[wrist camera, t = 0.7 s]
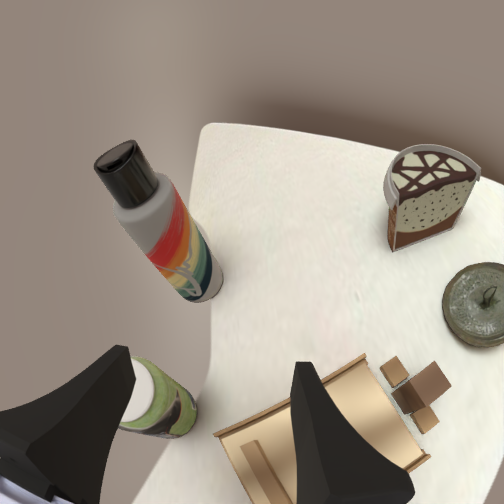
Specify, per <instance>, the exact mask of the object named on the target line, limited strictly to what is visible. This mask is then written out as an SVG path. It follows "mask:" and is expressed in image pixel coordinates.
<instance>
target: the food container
mask: <svg viewBox="0 0 504 504" xmlns="http://www.w3.org/2000/svg"><path fill="white" fill-rule="evenodd" d="M480 170H481V168H480V167H479V166H478V165H477V164H476V163H475V162H473V161H472V160H471V159H470V158H468V157H467V156H465V155H463V154H462V153H460V152H458V151H456V150H453V149H451V148H448V147H444V146H439V145H432V144H420V145H415V146H411V147H408V148H406V149H404V150H403V151H401V152H400V153H399V154H398V155H397V156H396V157H395V158H394V160H393V161H392V162H391V164H390V166H389V168H388V171H387V173H386V175H385V179H384V187H383V189H384V195H385V198H386V201H387V204H388V206H389V219H388V242H389V245H390V248H391V250H392V252H395V251H398V250H400V249H403V248H406V247H408V246H411V245H413V244H416V243H419V242H421V241H424V240H426V239H429V238H431V237H434V236H437V235H439V234H442V233H444V232H447V231H449V230H452V229H453V227H454V226H455V224H456V222H457V220H458V218H459V216H460V214H461V212H462V210H463V208H464V206H465V204H466V202H467V200H468V197H469V195H470V193H471V191H472V189H473V187H474V184H475V182H476V180H477V181H479V180H480V175H481V172H480Z"/></svg>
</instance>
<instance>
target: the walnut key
mask: <svg viewBox="0 0 504 504" xmlns="http://www.w3.org/2000/svg"><path fill="white" fill-rule="evenodd" d="M450 387H451V384H450V383H449V381H448V380H447V378H446V377H445V375H444V374H443V372H442V371H441V369H440V368H439V366H438V365H437V363H436V362H435V361H434V362H432V363H431V364H430V365H429V366H427V367H426V368H425V369H423V370H422V371H421V372H420V373H418V374H417V375H416V376H414V377H413V378H412V379H410V380H409V381H408V382H406V383H405V384H404V385H402V386H401V387H399V388H398V389H397V390H395V391H394V392H393V393H391V394H392V396H393V397H394V399H395V401H396V402H397V404H398V405H399V407H400V408H401V410H402V411H403V413H404V414H407V413H410V412H413V411H416V410H419V409H422V408H425V407H427V406H429V405H430V404H431V403H432V402H433V401H435V400H436V399H437V398H438V397H440V396H441V395H442V394H443V393H444V392H445V391H447V390H448V389H449V388H450Z"/></svg>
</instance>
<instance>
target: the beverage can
mask: <svg viewBox="0 0 504 504" xmlns="http://www.w3.org/2000/svg"><path fill="white" fill-rule="evenodd" d="M130 357H131V361H132V365H133V369H134V372H135V376H136V382H135V386H134V390H133V393H132V396H131V399H130V401H129V404H128V406H127V408H126V411H125V413H124V415H123V417H122V420H121V422H120V424H119V426H118V428H119V429H121V430H125V431H129V432H135V433H139V434H144V435H150V436H156V437H162V438H177V437H180V436H182V435H184V434H185V433H187V432H188V431H189V430H190V429H191V427H192V426H193V424H194V422H195V419H196V413H197V410H196V404H195V401H194V399H193V397H192V395H191V394H190V393H189V392H188V391H187V390H186V389H185V388H184V387H182V386H181V385H180V384H178V383H177V382H176V381H174V380H173V379H172V378H171V377H169V376H168V375H167V374H165V373H164V372H163V371H162V370H161V369H159V368H158V367H157V366H156V365H154V364H153V363H152V362H150V361H148V360H146V359H144V358H141V357H135V356H130Z"/></svg>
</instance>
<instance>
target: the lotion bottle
mask: <svg viewBox="0 0 504 504" xmlns="http://www.w3.org/2000/svg"><path fill="white" fill-rule="evenodd" d="M94 170H95V171H96V173H97V174H98V176H99V177H100V179H101V180H102V182H103V183H104V185H105V186H106V188H107V189H108V190H109V192H110V193H111V195H112V196H113V198H114V199H115V202H114V206H113V213H114V215H115V217H116V219H117V220H118V222H119V223H120V224H121V226H122V227H123V228H124V229H125V231H126V232H127V233H128V234H129V236H130V237H131V238H132V239H133V241H134V242H135V243H136V244H137V245H138V247H140V249H141V250H142V251H143V253H144V254H145V255H146V256H147V257H148V258H149V259H150V261H151V262H152V263H153V264H154V265H155V267H156V268H157V269H158V270H159V271H160V272H161V274H162V275H163V276H164V277H165V278H166V279H167V280H168V281H169V283H170V284H171V285H172V286H173V287H174V288H175V289H176V291H178V293H179V294H180V295H181V296H182V297H183V298H185V299H186V300H188V301H190V302H195V303H199V302H204V301H207V300H209V299H210V298H212V297H213V296H214V295H215V294H216V293H217V292H218V291H219V289H220V287H221V285H222V281H223V275H222V271H221V269H220V267H219V265H218V263H217V261H216V259H215V258H214V256H213V254H212V252H211V251H210V249H209V247H208V246H207V244H206V242H205V240H204V238H203V237H202V235H201V233H200V231H199V230H198V228H197V226H196V224H195V223H194V221H193V219H192V217H191V215H190V214H189V212H188V210H187V208H186V207H185V205H184V203H183V201H182V199H181V197H180V196H179V194H178V192H177V190H176V189H175V187H174V185H173V183H172V182H171V180H170V179H169V178H168V177H167V176H166V175H164V174H162V173H157V172H154V171H153V169H152V168H151V166H150V164H149V163H148V161H147V159H146V158H145V156H144V155H143V153H142V151H141V149H140V147H139V146H138V144H137V142H136V141H135V140H129V141H126V142H123V143H121V144H119V145H117V146H116V147H114V148H112V149H111V150H109V151H107V152H106V153H104V154H103V155H101V156H100V157H99V158H98V159H97V160H96V162H95V163H94Z"/></svg>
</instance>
